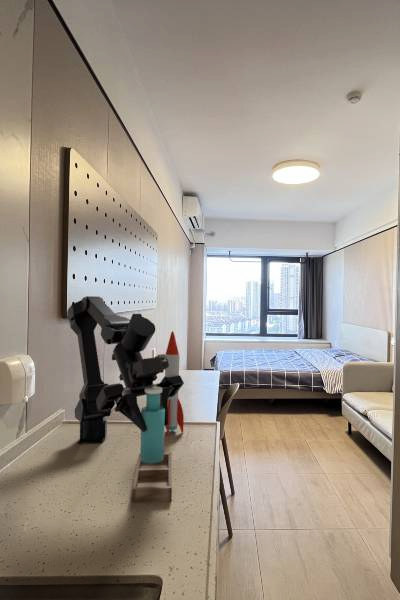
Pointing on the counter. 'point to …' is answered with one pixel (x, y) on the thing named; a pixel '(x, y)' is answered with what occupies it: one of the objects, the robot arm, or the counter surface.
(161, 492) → the caddy
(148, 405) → the bottle
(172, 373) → the toy rocket
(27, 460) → the counter surface
